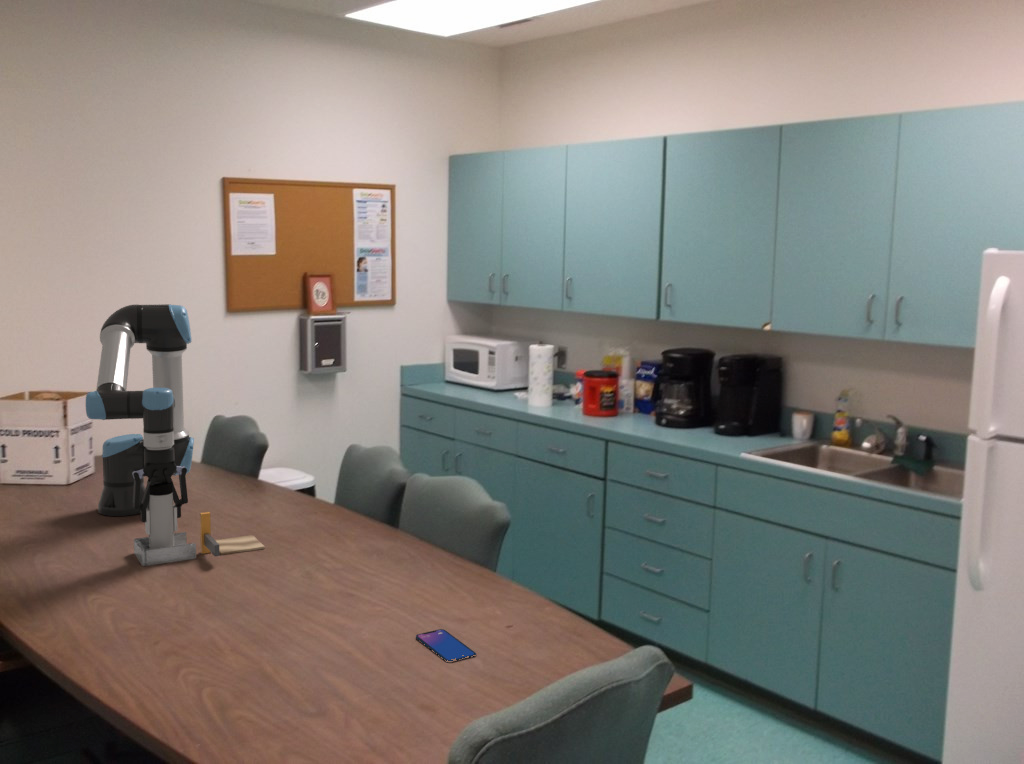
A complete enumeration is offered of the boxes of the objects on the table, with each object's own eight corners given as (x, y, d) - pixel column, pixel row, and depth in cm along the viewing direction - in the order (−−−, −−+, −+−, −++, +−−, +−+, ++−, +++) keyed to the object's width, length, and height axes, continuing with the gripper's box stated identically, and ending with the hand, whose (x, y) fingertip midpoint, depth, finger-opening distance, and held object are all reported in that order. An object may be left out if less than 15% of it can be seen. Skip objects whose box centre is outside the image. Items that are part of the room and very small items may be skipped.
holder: (134, 553, 254) (133, 538, 253) (185, 546, 261) (185, 532, 260) (142, 566, 244) (142, 551, 243) (196, 558, 251) (195, 544, 250)
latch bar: (200, 552, 256) (199, 512, 254) (209, 550, 257) (208, 511, 256) (212, 566, 245) (211, 525, 244) (222, 564, 246) (221, 524, 245)
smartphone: (447, 662, 191) (413, 635, 203) (447, 666, 191) (413, 638, 203) (478, 654, 195) (443, 628, 207) (478, 658, 195) (443, 631, 207)
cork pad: (209, 542, 264) (209, 540, 264) (252, 536, 270) (252, 534, 270) (221, 554, 254) (220, 552, 254) (264, 548, 260) (264, 546, 260)
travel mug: (179, 549, 255) (177, 477, 252) (168, 557, 249) (166, 484, 246) (157, 548, 256) (154, 476, 253) (145, 556, 249) (143, 482, 246)
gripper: (122, 453, 240) (125, 540, 243) (199, 446, 249) (201, 530, 253) (117, 447, 246) (120, 532, 249) (193, 441, 256) (195, 523, 259)
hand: (161, 531), depth 251 cm, fingers closed on travel mug, 6 cm apart
